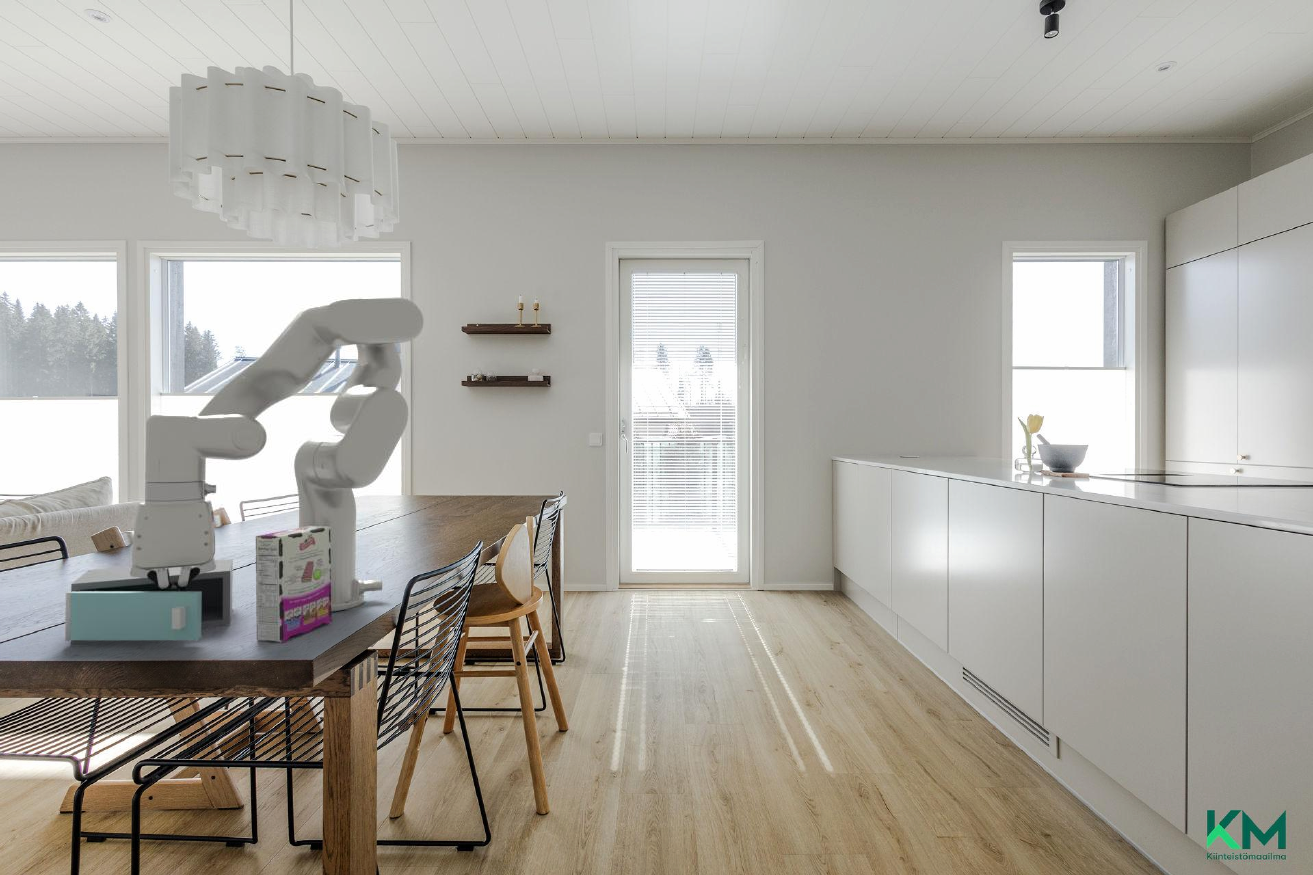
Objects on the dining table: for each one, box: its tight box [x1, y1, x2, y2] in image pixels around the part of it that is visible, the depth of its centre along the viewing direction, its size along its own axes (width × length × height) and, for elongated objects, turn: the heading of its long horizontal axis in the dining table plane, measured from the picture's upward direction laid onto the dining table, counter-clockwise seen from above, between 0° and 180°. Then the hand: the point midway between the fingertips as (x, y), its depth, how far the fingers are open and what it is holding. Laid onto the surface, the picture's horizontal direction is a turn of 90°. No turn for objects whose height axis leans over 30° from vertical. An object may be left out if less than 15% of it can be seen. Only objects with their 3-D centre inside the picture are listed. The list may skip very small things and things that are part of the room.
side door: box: [64, 591, 202, 641], centre depth 96 cm, size 19×2×7 cm, turn 92°
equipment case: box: [70, 558, 234, 645], centre depth 108 cm, size 20×12×9 cm, turn 122°
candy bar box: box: [255, 526, 332, 644], centre depth 104 cm, size 11×5×16 cm, turn 168°
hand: (173, 611), depth 100 cm, fingers closed
